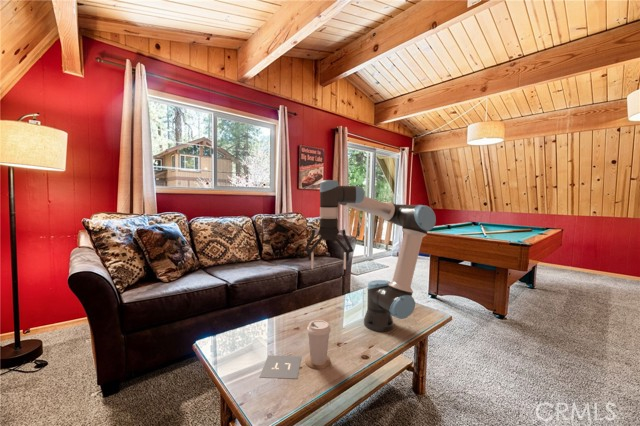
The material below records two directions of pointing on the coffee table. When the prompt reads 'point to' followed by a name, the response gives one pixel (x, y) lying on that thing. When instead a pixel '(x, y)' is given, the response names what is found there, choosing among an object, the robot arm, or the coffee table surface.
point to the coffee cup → (318, 341)
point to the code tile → (281, 367)
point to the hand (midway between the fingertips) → (328, 268)
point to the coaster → (309, 364)
